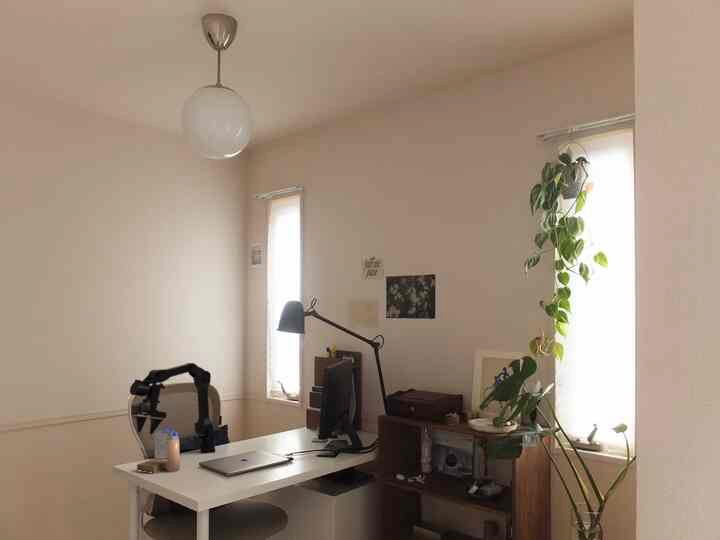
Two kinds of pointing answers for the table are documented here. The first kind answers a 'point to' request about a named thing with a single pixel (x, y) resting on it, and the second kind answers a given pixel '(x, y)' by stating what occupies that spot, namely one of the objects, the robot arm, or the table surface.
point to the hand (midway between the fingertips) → (144, 433)
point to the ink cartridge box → (163, 441)
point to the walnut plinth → (153, 465)
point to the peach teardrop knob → (173, 455)
